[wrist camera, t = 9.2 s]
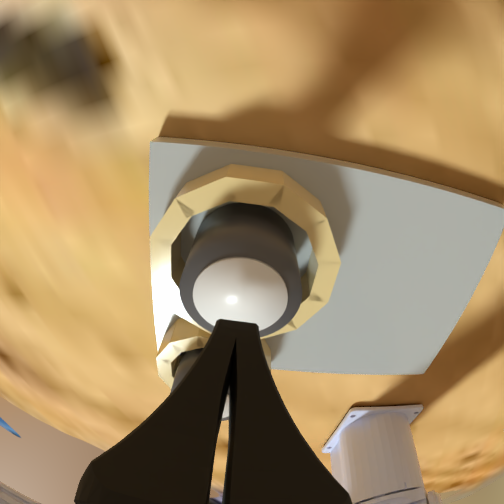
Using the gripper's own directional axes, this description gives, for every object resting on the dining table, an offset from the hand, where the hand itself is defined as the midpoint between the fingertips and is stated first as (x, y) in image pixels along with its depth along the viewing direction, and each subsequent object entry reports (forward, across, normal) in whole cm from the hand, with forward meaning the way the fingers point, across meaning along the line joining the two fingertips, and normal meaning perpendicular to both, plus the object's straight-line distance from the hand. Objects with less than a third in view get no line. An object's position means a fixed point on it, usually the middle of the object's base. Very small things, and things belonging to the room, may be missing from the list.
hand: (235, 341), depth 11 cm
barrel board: (+8, -5, +3) cm, 9 cm away
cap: (+6, 0, 0) cm, 6 cm away
